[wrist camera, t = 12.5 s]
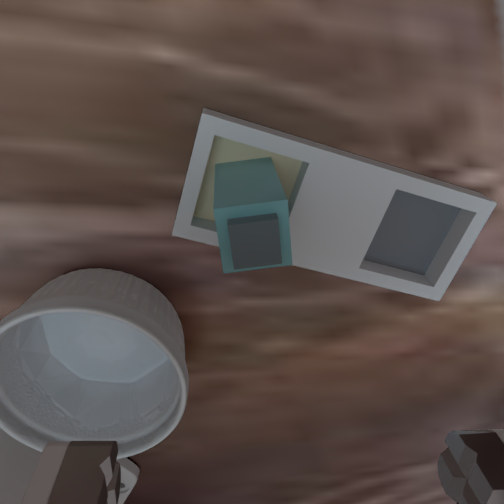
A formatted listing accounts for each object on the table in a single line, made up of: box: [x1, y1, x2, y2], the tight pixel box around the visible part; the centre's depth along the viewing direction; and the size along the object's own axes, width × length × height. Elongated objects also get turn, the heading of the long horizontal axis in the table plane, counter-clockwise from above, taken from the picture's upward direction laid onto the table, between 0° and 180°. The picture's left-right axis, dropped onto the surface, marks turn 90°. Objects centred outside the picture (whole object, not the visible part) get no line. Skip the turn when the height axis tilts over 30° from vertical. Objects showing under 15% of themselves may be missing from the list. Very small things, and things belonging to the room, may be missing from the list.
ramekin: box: [0, 268, 189, 459], centre depth 30 cm, size 13×13×7 cm
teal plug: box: [213, 157, 292, 274], centre depth 25 cm, size 4×4×9 cm
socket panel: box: [172, 108, 497, 301], centre depth 29 cm, size 8×20×2 cm, turn 73°
